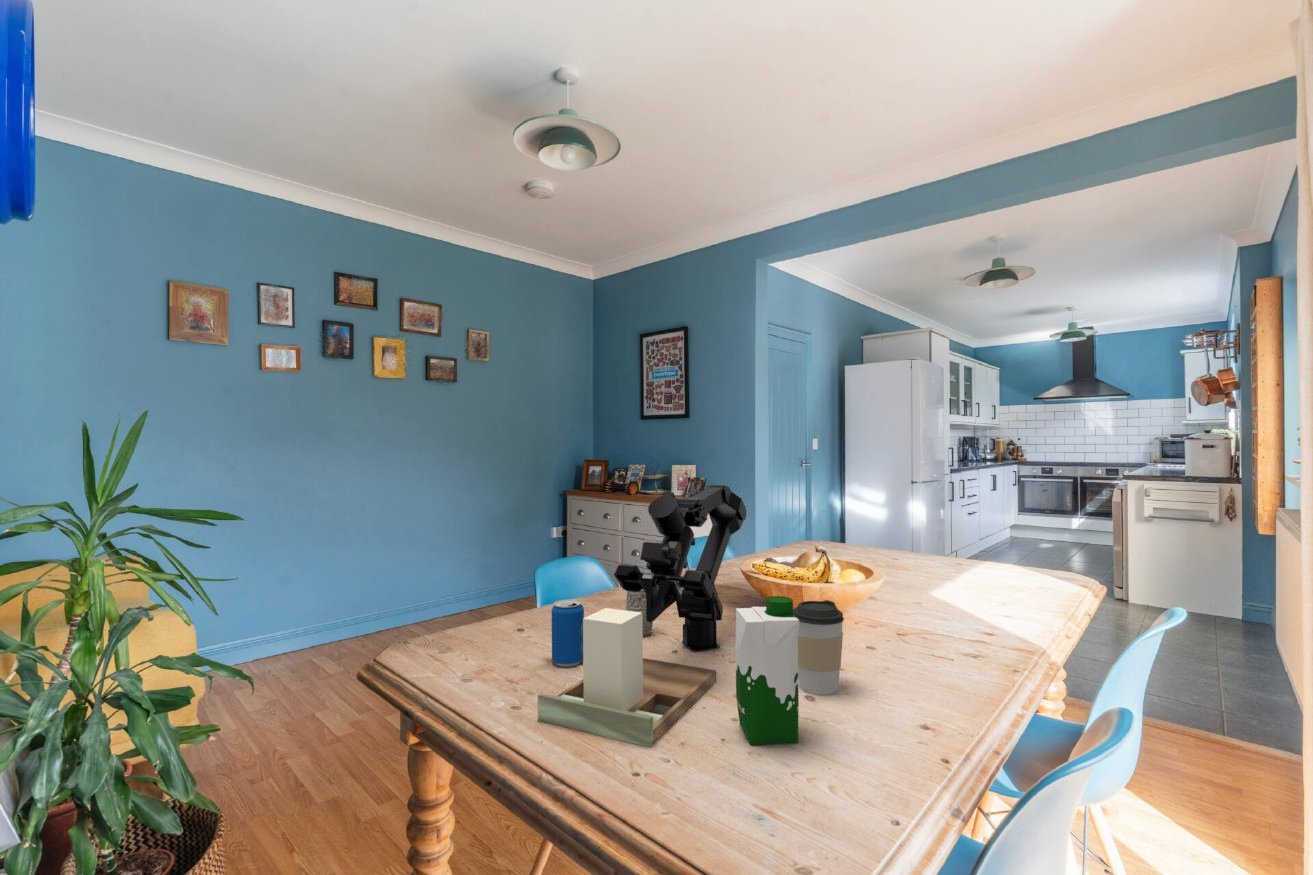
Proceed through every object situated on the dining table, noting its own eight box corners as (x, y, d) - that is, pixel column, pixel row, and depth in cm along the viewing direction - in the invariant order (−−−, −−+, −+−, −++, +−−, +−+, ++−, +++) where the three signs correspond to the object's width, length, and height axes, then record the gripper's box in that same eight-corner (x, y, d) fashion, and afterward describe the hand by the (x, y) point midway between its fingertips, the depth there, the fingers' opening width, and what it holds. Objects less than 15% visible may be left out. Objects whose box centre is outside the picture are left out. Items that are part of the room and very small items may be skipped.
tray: (622, 664, 119) (621, 644, 119) (716, 681, 110) (716, 659, 110) (537, 720, 95) (537, 695, 95) (649, 747, 86) (649, 719, 86)
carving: (638, 640, 134) (637, 586, 134) (618, 632, 140) (618, 581, 140) (660, 634, 138) (659, 582, 138) (640, 627, 144) (639, 577, 144)
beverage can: (578, 669, 117) (577, 607, 117) (546, 667, 118) (546, 606, 118) (588, 657, 123) (588, 599, 124) (558, 656, 125) (558, 598, 125)
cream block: (606, 690, 101) (605, 607, 102) (643, 698, 98) (642, 612, 99) (583, 706, 95) (583, 618, 95) (621, 715, 92) (621, 623, 92)
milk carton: (806, 745, 86) (804, 606, 87) (744, 748, 85) (742, 608, 86) (787, 718, 95) (786, 591, 95) (731, 721, 94) (730, 593, 95)
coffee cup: (816, 701, 101) (815, 612, 101) (782, 683, 109) (781, 600, 109) (856, 691, 105) (854, 605, 105) (819, 674, 113) (818, 594, 113)
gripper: (618, 522, 118) (588, 591, 107) (706, 527, 109) (683, 602, 99) (637, 556, 124) (610, 623, 114) (722, 563, 116) (701, 636, 106)
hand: (649, 621), depth 108 cm, fingers closed
